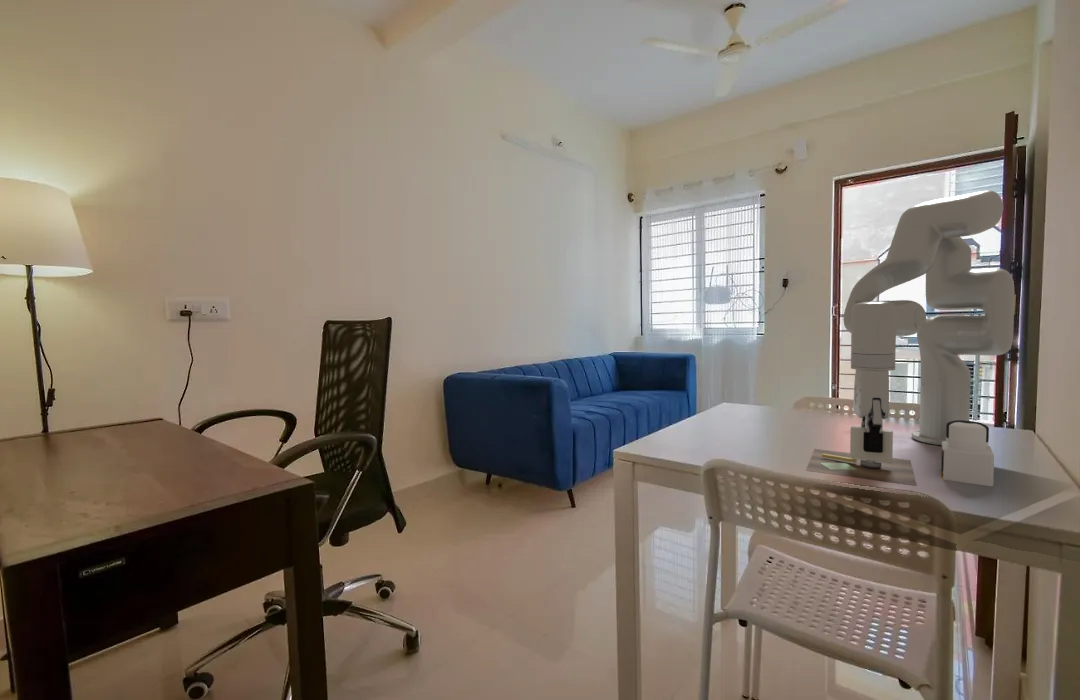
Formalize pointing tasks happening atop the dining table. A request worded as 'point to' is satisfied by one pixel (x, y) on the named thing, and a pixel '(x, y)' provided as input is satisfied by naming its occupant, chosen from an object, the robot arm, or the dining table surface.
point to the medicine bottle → (967, 453)
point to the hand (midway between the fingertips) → (871, 448)
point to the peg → (867, 457)
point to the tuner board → (862, 468)
